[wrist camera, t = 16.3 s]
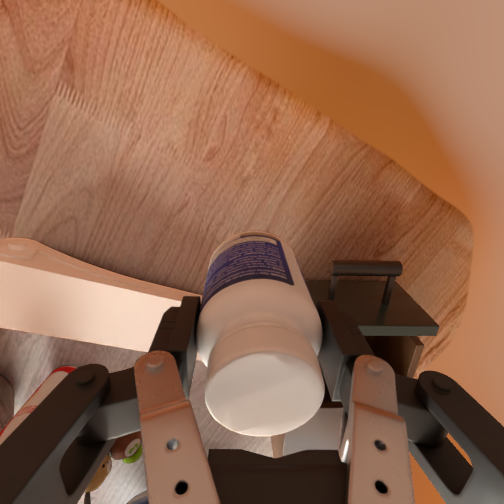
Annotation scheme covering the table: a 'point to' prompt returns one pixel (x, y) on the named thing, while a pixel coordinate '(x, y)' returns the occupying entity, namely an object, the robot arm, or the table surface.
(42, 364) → the table surface
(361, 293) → the drawer
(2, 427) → the planter
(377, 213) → the table surface
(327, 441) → the cabinet
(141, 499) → the decorative sphere
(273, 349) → the pill bottle
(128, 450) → the toy car
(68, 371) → the beverage can
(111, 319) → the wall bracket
